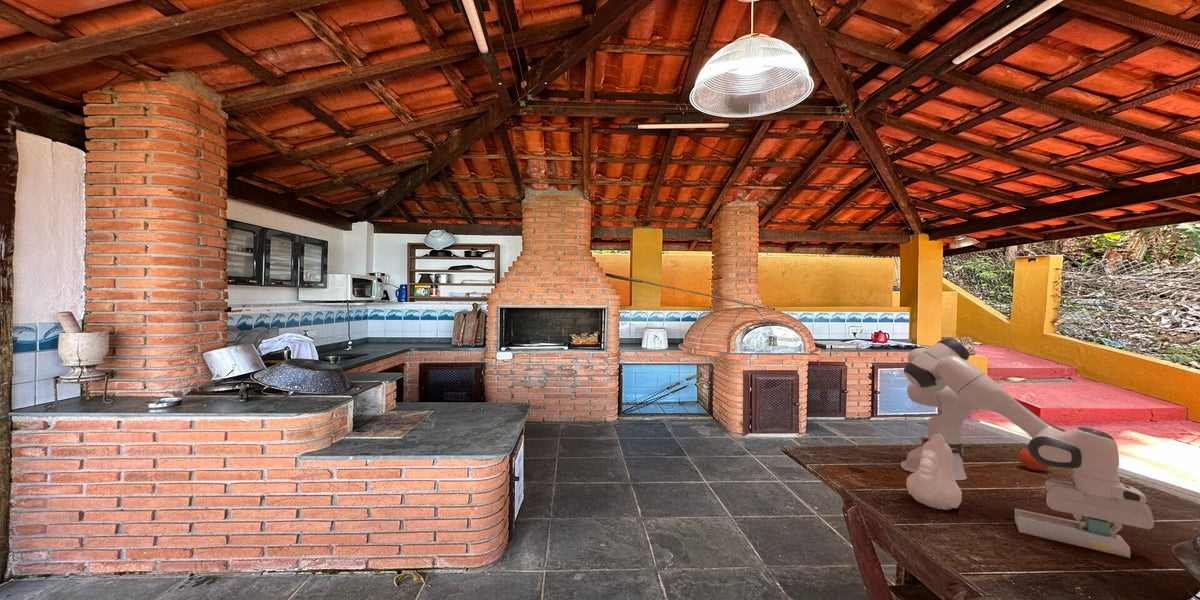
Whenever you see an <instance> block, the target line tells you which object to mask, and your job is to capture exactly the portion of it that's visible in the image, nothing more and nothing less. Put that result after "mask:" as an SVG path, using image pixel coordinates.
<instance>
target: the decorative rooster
mask: <svg viewBox="0 0 1200 600" xmlns="http://www.w3.org/2000/svg"><path fill="white" fill-rule="evenodd" d="M952 460H953V453H952V450H951V448H950V446H949V445H948V444H946V443H945V439H944V437H943V436H942V435H941V434H934V435H932V436H931V438H930V440H929V441H927V442H926V443H925V444H924V445H923V448H922V454H921V457H920V465H919V468H918V470H917V471H915V472H914V473H910V475H908V476H907V477H906V481H905V482H906V484H905V485H906V488H907V492H908V494H909V495H910V496H912V498H913V499H914V500H916V502H918V503H921V504H923V505H925V506H927V507H929V508H931V507H932V509H938V510H941V509H942V511H949V510H952V509H958V508H959V506H960V504H961V503H962V500H963V496H962V495H963V492H962V490H961V488H960V487H959V485H958V484H957V482H956V481H957V480H956V479H955V476H954V473H953V466H952Z"/></svg>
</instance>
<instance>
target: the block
mask: <svg viewBox="0 0 1200 600" xmlns="http://www.w3.org/2000/svg"><path fill="white" fill-rule="evenodd" d="M1084 523H1085V524H1086V525H1087V526H1088V529H1087V530H1088V531H1090V532H1094V533H1099V534H1103V535H1108V536H1110V529H1111V522H1110V521H1105V520H1100V519H1095V518H1090V517H1086V516H1084Z"/></svg>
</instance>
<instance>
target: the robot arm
mask: <svg viewBox="0 0 1200 600" xmlns="http://www.w3.org/2000/svg"><path fill="white" fill-rule="evenodd" d="M969 358H970V352H969V351H968V349H967V347H966V346H965V345H964V344H962V343H961V342H960V341H959V340H956V339H954V338H947V337H946V338H943V339H941V340H939V341H937V342H936V343H935V344H933V345H932V346H929V347H928V348H927V347H919V348H918V347H917V348H914V349H912V350H911V351H909V353H908V354H907V363H906V365H905V366H904V368H903V373H904V375H905V377H906V378H907V380H908V381H909V382H910V383H909V384H908V386H907V387H906V388H907V389H906V394H907V396H908V398H909V400H910V401H911V402H913V403H917V404H919V405H922V406H926V407H933V408H939V409H943V413H941V414H939V415H934V416H932V417H930V418H929V419H928V420H927V423H926V424H927V437H926V436H925V435H924V436H923V435H922V436H921V437H920V440H921V446H918V447H917V448H915V449H912V450H910V451H909V452H908V454H907V456H906V459H905V460H903V461H901V462H900V465H901V467H900V468H903V469H904V470H907V471H910V472H909V473H911V472H915V471H917V470H918V468H919V465H920V457H921V454H922V448H923V445H924V444H925V443H926V442H927V441H929V440H930V438H931V436H932V435H934V434H941V435H942V436H943V437H944V439H945V443H946V444H948V445H949V446H950V448H951V450H952V453H953V460H952V466H953V473H954V476H955V479H956V481H964V480H967V478H968V477H967V474H966V471H965V469H964V463H963V462H964V461H963V456H964V448H963V443H962V427H963V423H964V421H965V419H966V418H967V417H968V416H969V415H970V414H973V413H974V412H976V411H979V410H985V411H990V412H994V413H996V414H999V415H1001V416H1003V417H1005V418H1007V419H1008V420H1009V421H1010V422H1011V423H1013V424H1014V425H1016V426H1017V427H1018V428H1020V429H1021V430H1022V431H1023V432H1025V434H1027V435H1028V436H1030V437H1031V439H1030V441H1029V442H1028V444H1027V445H1028V446H1027V448H1028V450H1029V453H1030V454H1031V456H1032V457H1033V458H1034V459H1035V460H1036V461H1038V462H1039V463H1041V464H1043V465H1046V466H1050V467H1051V468H1060V469H1061V468H1062V469H1063V468H1064V469H1072V472H1073V480H1065V479H1060V478H1050V479H1047V480H1045V483H1044V488H1045V490H1046V491H1047V493H1046V498H1045V499H1046V505H1047V506H1048V507H1049V509H1051V510H1052V511H1056V512H1062V513H1065V514H1071V515H1073V517H1074V518H1075V521H1078V523H1079V529H1080V530H1085V531H1088V530H1087V529H1088V526H1087V525H1086V524H1084V523H1085V522H1083V521H1081V520H1082V518H1083V517H1085V516H1086V517H1090V518H1095V519H1100V520H1105V521H1108V522H1109V523H1112V524H1113V526H1112V527H1110V536H1113V537H1115V538H1116V535H1117V533H1118V532H1119V531H1120V530H1121V529H1122V528H1123V525H1125V526H1130V527H1136V528H1139V529H1145V530H1151V529H1152V528H1154V527H1155V522H1154V516H1153V513H1152V510H1151V507H1149V505H1148V504H1146V502H1147V497H1146V495H1145V494H1144V493H1143V492H1142V491H1140V490H1139V489H1138V488H1136V487H1133V486H1130V485H1128V484H1124V483H1122V482H1120V481H1121V480H1120V476H1119V473H1118V468H1119V467H1120V455H1119V448H1118V444H1117V442H1116V439H1115V438H1114V437H1113V436H1111V435H1110V434H1109V433H1106V432H1104V431H1102V430H1099V429H1094V428H1090V427H1083V426H1080V427H1079V426H1077V427H1075V428H1073V429H1068V430H1065V429H1063V428H1061V427H1058V426H1055V425H1052V424H1051V423H1049V422H1047V421H1045V420H1044V419H1042V418H1041V417H1040V416H1039V415H1037V414H1036V413H1034V412H1033V411H1031V409H1028V408H1027V407H1026V406H1025V405H1024V404H1022V403H1021V402H1020V401H1018V400H1016V399H1015V398H1014V397H1013V396H1012V395H1011V394H1009V393H1008V392H1007V391H1006V390H1005V389H1004V388H1003V387H1002V386H1001V385H1000V384H999V383H998V382H996V381H995V380H994V379H993V378H991V376H990V375H988V374H987V373H986V372H984V371H982V370H981V369H980V368H979V367H977V366H975V364H972V363H971V362H969V361H968V360H969ZM903 469H902V470H903ZM904 470H903V471H904ZM907 471H906V472H907ZM1082 522H1083V523H1082Z"/></svg>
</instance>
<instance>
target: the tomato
mask: <svg viewBox="0 0 1200 600" xmlns="http://www.w3.org/2000/svg"><path fill="white" fill-rule="evenodd" d="M1017 459H1018V461H1019V463H1020V464H1022V466H1024V467H1025V468H1026V469H1029V470H1032V471H1036V472H1037V471H1038V472H1039V471H1040V472H1041V471H1045V470H1047V469H1049V468H1050V467H1051V466H1046V465H1043V464H1041V463H1039V462H1038V461H1036V460H1035V459H1034V458H1033V457H1032V456H1031V454H1030V453H1029V450H1028V447H1027V448H1026V447H1025V448H1023V449H1021V450H1019V452H1018V454H1017Z"/></svg>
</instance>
